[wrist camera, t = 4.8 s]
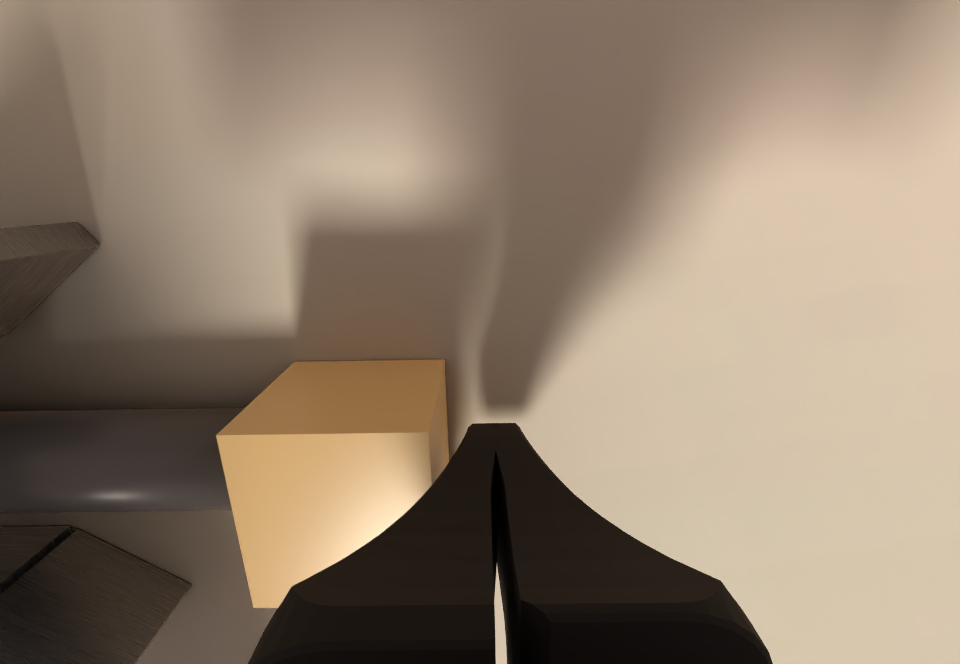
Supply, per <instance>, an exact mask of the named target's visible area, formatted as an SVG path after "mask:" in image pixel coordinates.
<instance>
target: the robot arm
mask: <svg viewBox="0 0 960 664" xmlns="http://www.w3.org/2000/svg"><path fill="white" fill-rule="evenodd" d="M496 565H497V566H498V574H499V581H500V589H501V596H502V603H503V611H504V620H505V631H506V647H507V664H773V663H772V660H771V657H770V654H769V652H768V650H767V648H766V647H765V645H764V643H763V642H762V640H761V639H760V637H759V635H758V634H757V632H756V630H755V629H754V627H753V625H752V624H751V622H750V621H749V619H748V618H747V616H746V615H745V613H744V612H743V610H742V609H741V607H740V606H739V605H738V604H737V602H736V601H735V600H734V598H733V597H732V596H731V594H730V593H729V592H728V590H727V589H726V588H725V586H724V585H723V583H722V582H721V581H720V580H718V579H715V578H713V577H711V576H709V575H707V574H704V573H702V572H700V571H698V570H695V569H693V568H691V567H689V566H687V565H684V564H682V563H680V562H678V561H676V560H673V559H671V558H669V557H667V556H665V555H664V554H662V553H660V552H658V551H656V550H654V549H653V548H651V547H649V546H647V545H645V544H644V543H642V542H640V541H638V540H637V539H635V538H633V537H632V536H630V535H628V534H627V533H625V532H624V531H622V530H621V529H619V528H618V527H616V526H615V525H613V524H612V523H610V522H609V521H607V520H606V519H605V518H603V517H602V516H600V515H599V514H598V513H596V512H595V511H594V510H592V509H591V508H590V507H589V506H587V505H586V504H585V503H584V502H583V501H582V500H580V499H579V498H578V497H577V496H576V495H574V494H573V493H572V492H571V491H570V490H569V489H568V488H567V487H566V486H565V485H564V484H563V483H562V482H561V481H560V480H559V478H558V477H557V476H556V475H555V474H554V473H553V472H552V471H551V470H550V469H549V467H548V466H547V465H546V464H545V463H544V461H543V460H542V459H541V458H540V456H539V455H538V454H537V453H536V451H535V450H534V449H533V447H532V446H531V444H530V443H529V442H528V440H527V439H526V437H525V436H524V434H523V432H522V431H521V429H520V427H519V426H518V425H517V424H516V423H485V424H472V425H471V426H470V427H469V428H468V430H467V432H466V434H465V437H464V439H463V440H462V442H461V444H460V446H459V447H458V449H457V451H456V452H455V454H454V455H453V457H452V458H451V460H450V461H449V463H448V464H447V466H446V467H445V469H444V470H443V471H442V473H441V474H440V475H439V476H438V478H437V479H436V480H435V481H434V483H433V484H432V485H431V486H430V488H429V489H428V490H427V491H426V492H425V493H424V494H423V496H422V497H421V498H420V499H419V500H418V501H417V502H416V503H415V504H414V505H413V506H412V507H411V508H410V509H409V510H408V511H407V512H406V513H405V514H404V515H402V516H401V517H400V518H399V519H398V520H397V521H395V522H394V523H393V524H392V525H391V526H389V527H388V528H387V529H386V530H385V531H383V532H382V533H381V534H379V535H378V536H377V537H375V538H374V539H372V540H371V541H370V542H368V543H367V544H365V545H364V546H362V547H361V548H359V549H358V550H356V551H355V552H353V553H351V554H350V555H348V556H347V557H345V558H343V559H342V560H340V561H338V562H337V563H335V564H333V565H331V566H329V567H327V568H326V569H324V570H322V571H320V572H318V573H316V574H314V575H313V576H311V577H309V578H307V579H305V580H303V581H301V582H299V583H297V584H295V585H293V586H292V587H291V588H290V590H289V591H288V593H287V595H286V596H285V598H284V600H283V601H282V603H281V604H280V606H279V607H278V609H277V610H276V612H275V614H274V615H273V617H272V619H271V620H270V622H269V624H268V625H267V627H266V629H265V631H264V632H263V634H262V636H261V638H260V641H259V643H258V645H257V647H256V649H255V651H254V653H253V655H252V657H251V659H250V661H249V663H248V664H496V661H495V615H494V595H495V580H496Z"/></svg>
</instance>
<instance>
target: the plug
mask: <svg viewBox="0 0 960 664" xmlns="http://www.w3.org/2000/svg"><path fill="white" fill-rule="evenodd" d="M448 463H449V446H448V424H447V401H446V379H445V359H437V360H374V361H310V362H294V363H293V364H291V365H290V366H289V367H288V368H287V369H286V370H285V371H284V372H283V373H282V374H281V375H280V376H279V377H278V378H277V379H276V380H274V381H273V382H272V383H271V384H270V385H269V386H268V387H267V388H266V389H265V390H264V391H263V392H262V393H261V394H260V395H258V396H257V397H256V398H255V399H254V400H253V401H252V402H251V403H250V404H249V405H248V406H247V407H246V408H191V409H122V410H54V411H0V513H29V512H112V511H195V510H232V512H233V516H234V521H235V526H236V530H237V535H238V539H239V544H240V549H241V553H242V558H243V562H244V567H245V572H246V576H247V581H248V586H249V590H250V595H251V599H252V604H253V608H278V607H279V606H280V604H281V603H282V601H283V600H284V598H285V596H286V595H287V593H288V591H289V590H290V588H291V587H292V586H293V585H295V584H297V583H299V582H301V581H303V580H305V579H307V578H309V577H311V576H313V575H314V574H316V573H318V572H320V571H322V570H324V569H326V568H327V567H329V566H331V565H333V564H335V563H337V562H338V561H340V560H342V559H343V558H345V557H347V556H348V555H350V554H351V553H353V552H355V551H356V550H358V549H359V548H361V547H362V546H364V545H365V544H367V543H368V542H370V541H371V540H372V539H374V538H375V537H377V536H378V535H379V534H381V533H382V532H383V531H385V530H386V529H387V528H388V527H389V526H391V525H392V524H393V523H394V522H395V521H397V520H398V519H399V518H400V517H401V516H402V515H404V514H405V513H406V512H407V511H408V510H409V509H410V508H411V507H412V506H413V505H414V504H415V503H416V502H417V501H418V500H419V499H420V498H421V497H422V496H423V494H424V493H425V492H426V491H427V490H428V489H429V488H430V486H431V485H432V484H433V483H434V481H435V480H436V479H437V478H438V476H439V475H440V474H441V473H442V471H443V470H444V469H445V467H446V466H447V464H448Z"/></svg>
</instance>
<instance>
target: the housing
mask: <svg viewBox="0 0 960 664" xmlns="http://www.w3.org/2000/svg"><path fill="white" fill-rule="evenodd" d="M99 246H100V244H99V243H98V242H97V241H96V240H95V239H94V238H93V237H92V236H91V235H90V234H89V233H88V232H87V231H86V230H85V229H84V228H83V227H82V226H81V225H80V224H79V223H78V222H70V223H59V224H48V225H38V226H27V227H16V228H5V229H0V338H1V337H3V334H6V333H10V332H11V331H12V330H13V329H14V328H15V327H16V326H17V325H18V324H19V323H20V322H21V321H22V320H23V319H24V318H25V317H26V316H27V315H28V314H29V313H31V312H32V311H33V310H34V309H35V308H36V307H37V306H38V305H39V304H40V303H41V302H42V301H43V300H44V299H45V298H46V297H47V296H48V295H49V294H50V293H51V292H52V291H53V290H54V289H55V288H56V287H57V286H58V285H59V284H61V283H62V282H63V281H64V280H65V279H66V278H67V277H68V276H69V275H70V274H71V273H72V272H73V271H74V270H75V269H76V268H77V267H78V266H79V265H80V264H81V263H82V262H83V261H84V260H85V259H86V258H87V257H88V256H90V255H91V254H92V253H93V252H94V251H95V250H96V249H97V248H98V247H99ZM190 587H191V584H189V583H187V582H185V581H183V580H181V579H179V578H177V577H175V576H173V575H171V574H169V573H167V572H165V571H163V570H161V569H159V568H157V567H155V566H153V565H151V564H149V563H147V562H145V561H142V560H140V559H138V558H136V557H134V556H132V555H130V554H128V553H126V552H124V551H122V550H120V549H118V548H116V547H114V546H112V545H110V544H108V543H106V542H104V541H102V540H100V539H98V538H96V537H94V536H92V535H90V534H88V533H86V532H84V531H82V530H80V529H77V530H76V531H75V532H74V533H72V530H71V527H70V526H13V527H0V664H136V662H137V661H138V660H139V658H140V657H141V656H142V654H143V653H144V651H145V650H146V649H147V647H148V646H149V645H150V643H151V642H152V640H153V639H154V638H155V636H156V635H157V633H158V632H159V631H160V629H161V628H162V627H163V625H164V624H165V622H166V621H167V620H168V618H169V617H170V616H171V614H172V613H173V611H174V610H175V609H176V607H177V606H178V604H179V603H180V602H181V600H182V599H183V597H184V596H185V594H186V593H187V591H188V590H189V588H190Z"/></svg>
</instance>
